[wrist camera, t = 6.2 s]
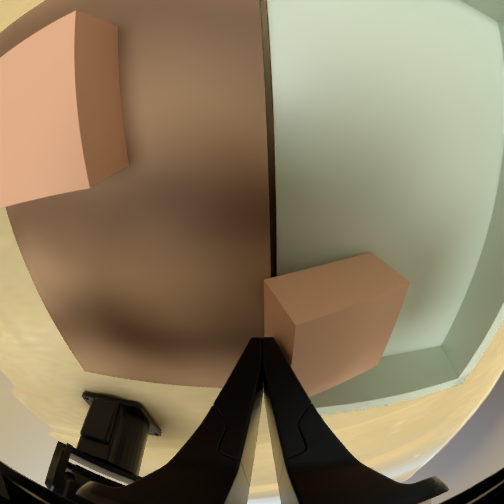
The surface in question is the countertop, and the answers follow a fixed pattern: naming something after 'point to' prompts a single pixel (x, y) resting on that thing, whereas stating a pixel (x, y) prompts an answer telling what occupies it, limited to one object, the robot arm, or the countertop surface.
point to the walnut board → (163, 199)
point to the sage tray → (396, 171)
